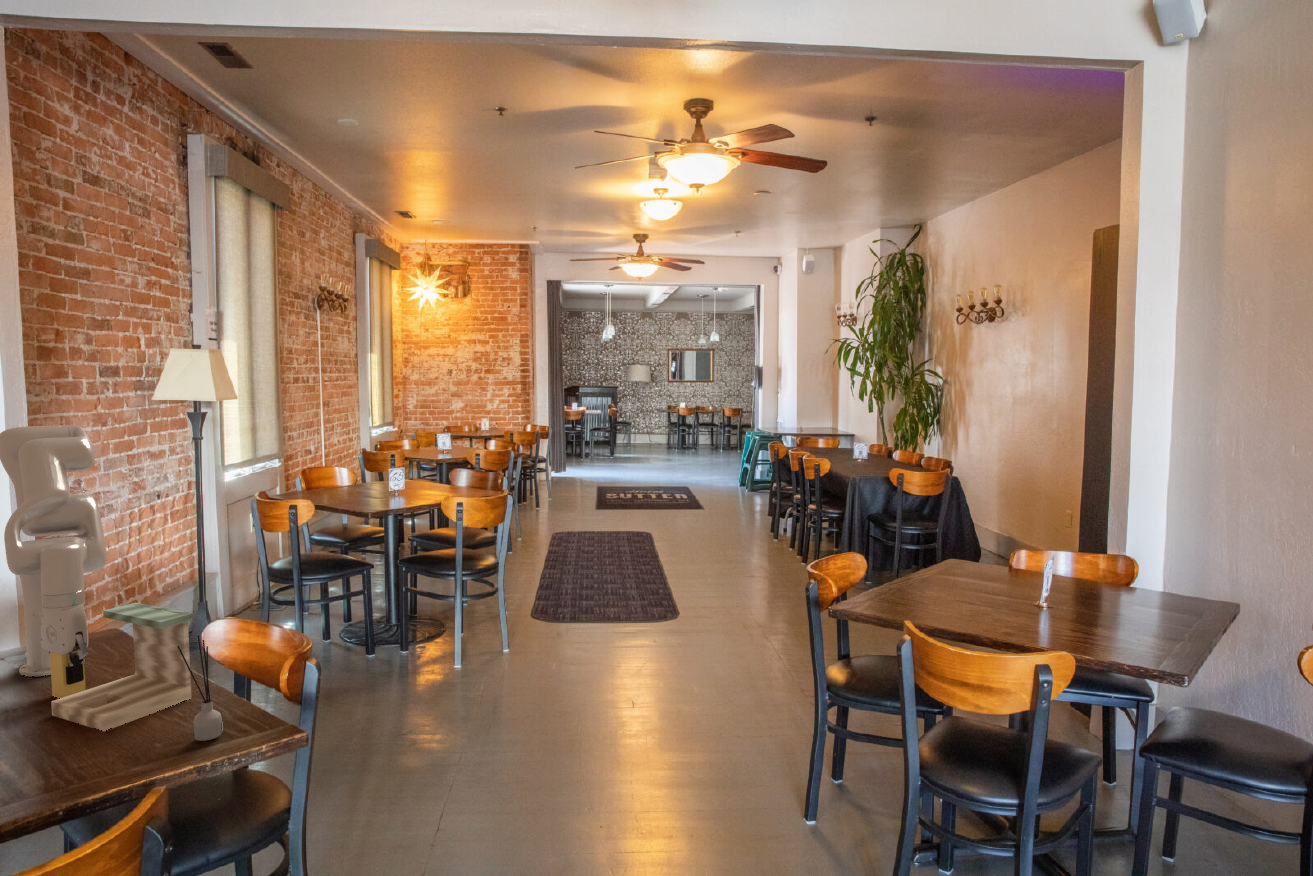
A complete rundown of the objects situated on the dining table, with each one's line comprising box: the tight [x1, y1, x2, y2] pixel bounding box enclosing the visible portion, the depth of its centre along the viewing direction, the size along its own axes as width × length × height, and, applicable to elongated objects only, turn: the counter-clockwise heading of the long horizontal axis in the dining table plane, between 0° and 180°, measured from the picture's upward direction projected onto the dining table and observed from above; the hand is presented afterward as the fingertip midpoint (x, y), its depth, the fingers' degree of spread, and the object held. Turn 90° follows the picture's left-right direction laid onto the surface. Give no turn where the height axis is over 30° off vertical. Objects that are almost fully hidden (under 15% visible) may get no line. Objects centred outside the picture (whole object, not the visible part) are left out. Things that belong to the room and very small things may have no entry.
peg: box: [50, 647, 87, 699], centre depth 175 cm, size 4×4×12 cm
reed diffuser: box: [177, 634, 224, 742], centre depth 153 cm, size 10×7×20 cm
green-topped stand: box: [50, 602, 194, 732], centre depth 169 cm, size 20×18×19 cm
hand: (68, 679), depth 176 cm, fingers closed on peg, 4 cm apart
